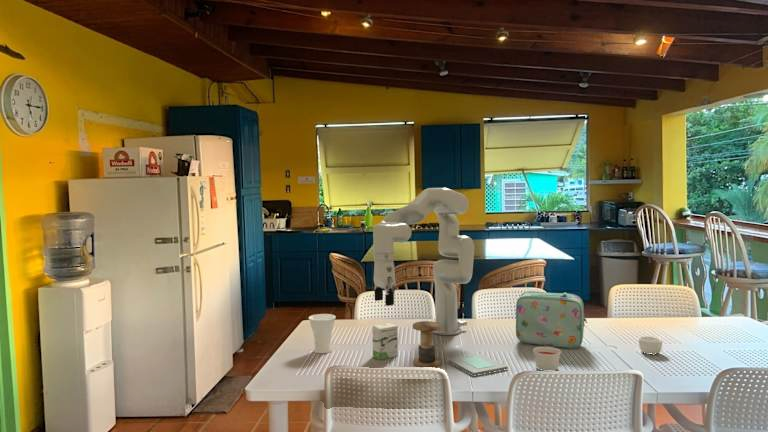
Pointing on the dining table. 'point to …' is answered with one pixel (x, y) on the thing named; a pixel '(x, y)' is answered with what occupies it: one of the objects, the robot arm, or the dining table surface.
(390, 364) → the dining table surface
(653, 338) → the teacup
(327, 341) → the cup
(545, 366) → the candle
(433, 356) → the bobbin
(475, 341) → the dining table surface
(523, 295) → the lunch box
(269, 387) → the dining table surface
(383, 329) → the ink box
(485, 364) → the board
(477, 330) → the dining table surface
